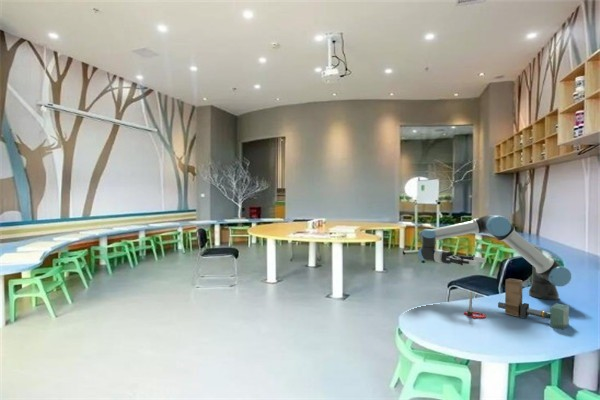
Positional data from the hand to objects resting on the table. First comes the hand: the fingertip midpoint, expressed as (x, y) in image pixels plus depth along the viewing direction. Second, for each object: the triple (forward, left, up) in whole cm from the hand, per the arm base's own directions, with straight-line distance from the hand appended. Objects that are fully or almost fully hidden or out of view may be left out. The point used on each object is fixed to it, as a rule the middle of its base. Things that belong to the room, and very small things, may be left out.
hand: (480, 261), depth 191 cm
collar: (0, +21, -25) cm, 33 cm away
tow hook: (+17, +4, -25) cm, 31 cm away
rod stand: (0, +24, -25) cm, 35 cm away
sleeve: (0, +16, -25) cm, 30 cm away
